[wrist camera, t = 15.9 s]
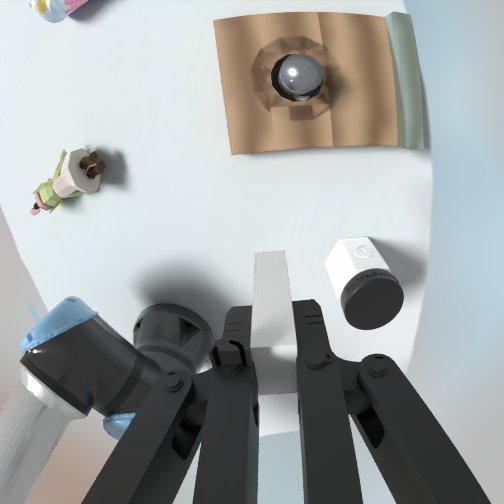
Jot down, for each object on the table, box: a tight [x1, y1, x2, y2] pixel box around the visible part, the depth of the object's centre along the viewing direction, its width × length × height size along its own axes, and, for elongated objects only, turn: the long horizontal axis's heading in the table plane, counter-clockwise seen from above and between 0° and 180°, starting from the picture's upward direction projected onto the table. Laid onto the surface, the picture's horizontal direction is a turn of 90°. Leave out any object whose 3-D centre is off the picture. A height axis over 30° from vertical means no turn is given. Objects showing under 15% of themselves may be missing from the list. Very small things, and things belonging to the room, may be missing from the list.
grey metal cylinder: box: [278, 54, 323, 96], centre depth 29 cm, size 4×4×8 cm
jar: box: [325, 237, 404, 330], centre depth 39 cm, size 9×8×12 cm
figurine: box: [30, 149, 105, 215], centre depth 37 cm, size 9×7×15 cm
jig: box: [213, 12, 424, 155], centre depth 30 cm, size 24×18×6 cm
